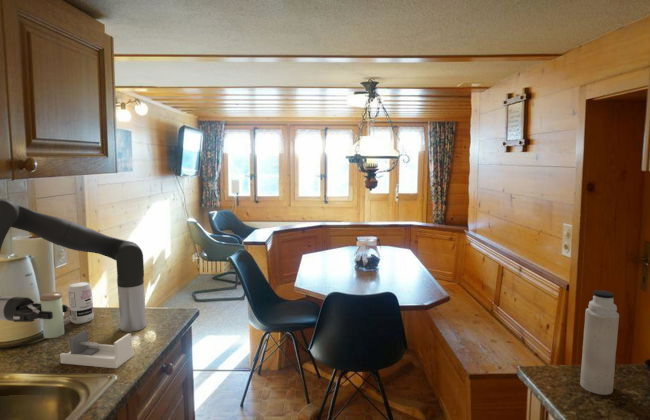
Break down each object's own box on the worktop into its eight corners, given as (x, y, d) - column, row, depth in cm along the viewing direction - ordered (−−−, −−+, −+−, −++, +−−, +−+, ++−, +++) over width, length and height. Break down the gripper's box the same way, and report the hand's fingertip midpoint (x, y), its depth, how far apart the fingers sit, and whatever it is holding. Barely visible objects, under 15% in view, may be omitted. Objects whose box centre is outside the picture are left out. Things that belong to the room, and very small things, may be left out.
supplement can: (76, 317, 183) (73, 281, 181) (97, 316, 184) (94, 281, 182) (66, 324, 175) (63, 287, 173) (89, 323, 176) (86, 287, 174)
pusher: (71, 358, 143) (69, 338, 142) (85, 349, 150) (84, 330, 149) (90, 360, 142) (88, 340, 141) (104, 350, 148) (102, 331, 147)
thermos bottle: (599, 379, 131) (607, 287, 127) (619, 394, 123) (628, 296, 119) (574, 380, 130) (580, 288, 127) (592, 395, 122) (600, 297, 119)
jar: (45, 332, 142) (42, 292, 140) (66, 329, 144) (63, 290, 142) (41, 339, 136) (37, 298, 135) (62, 336, 138) (59, 296, 137)
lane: (60, 363, 143) (58, 339, 142) (81, 350, 152) (79, 328, 151) (116, 368, 139) (114, 344, 138) (134, 355, 148) (132, 332, 147)
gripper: (-9, 304, 134) (40, 308, 131) (30, 290, 148) (75, 293, 145) (-7, 328, 135) (42, 332, 132) (32, 312, 149) (77, 315, 146)
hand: (59, 312), depth 139 cm, fingers closed on jar, 5 cm apart
